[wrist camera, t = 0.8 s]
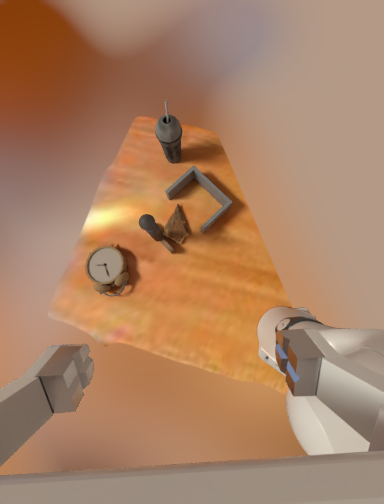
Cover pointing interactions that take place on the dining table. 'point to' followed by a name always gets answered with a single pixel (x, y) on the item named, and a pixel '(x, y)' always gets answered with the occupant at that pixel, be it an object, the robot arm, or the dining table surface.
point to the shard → (176, 227)
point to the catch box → (209, 186)
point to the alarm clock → (107, 268)
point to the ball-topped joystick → (153, 230)
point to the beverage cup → (169, 136)
